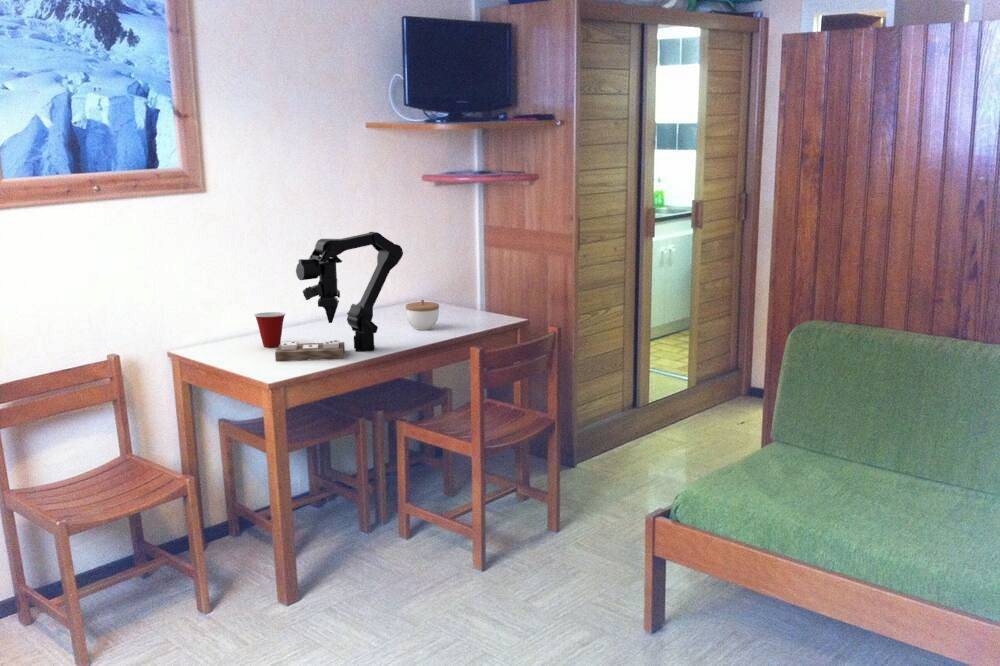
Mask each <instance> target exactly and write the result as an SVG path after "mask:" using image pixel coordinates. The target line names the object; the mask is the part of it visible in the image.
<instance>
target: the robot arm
mask: <svg viewBox="0 0 1000 666" xmlns="http://www.w3.org/2000/svg"><path fill="white" fill-rule="evenodd" d="M367 246H372V247H373V249H375V250H376V251H377V252H378V253H377V255H376V259H377V260H376V263H377V265H376V267H375V269H374V271H373V273H372V275H371V278H370V279H369V282H368V283H367V286H366V287H365V290H364V292H363V295H362V297H361V299H360V300H359V302H358V303H357V304H354V303H351V305H350V308H349V310H348V312H346V315H347V316H346V321H347V323H348V325H349V326H350V328H351V329H352V331H353V332H354V335H353V348H354V349H355V351H354V352H368V351H370V352H373V351H375V350H376V349H375V348H376V347H375V335H374V334H376V333H377V332H378V329H379V328H378V326H377V325H376V324H375V323H374V322H373V321H372V320H373V318H374V306H375V303H376V301H377V299H378V297H379V295H380V294H381V291H382V289H383V287H384V284H385V282H386V280H387V279H388V278H387V277H389V276H388V275H389V274H390V272H391V270H393V268H395V267H396V266H397V265H398V263H399V262H400V261H401V259H402V258H403V255H404V251H403V248H402V246H401V245H400V244H396V243H394V242H392V241H391V240H390V239H388V238H386V237H385V236H383V235H382V234H381V233H380V232H375V231H369V232H366V233H362V234H357V235H353V236H349V237H344V238H320V239H318V240H317V241H316V243H315V246H314V249H313V251H312V252H311V255H310V256H309V258H306V259H303V258H299V259H298V263H297V265H296V269H295V273H296V278H297V279H298V280H299V281H308V280H316V279H318V278H319V280H318V282H317V284H315V285H311V286H308V287H305V288H304V289H303V290H302V294H303V296H304V298H305V300H306V301H309V300H310V299H312V298H314V297H319V298H318V300H317V307H319V308H323V309H324V311H325V314H326V318H327V322H328V324H332V323H333V320H334V318H335V315H336V312H337V309H338V306H339V302H340V300H339V298H340V297H341V291H340V290H339V289H338V275H337V274H338V273H337V264H339V263H340V264H341V263H342V262H343V260H342V259H340V257H339V255H341V254H342V253H344V252H345V251H349V250H354V249H358V248H363V247H367Z"/></svg>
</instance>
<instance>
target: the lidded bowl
mask: <svg viewBox="0 0 1000 666" xmlns="http://www.w3.org/2000/svg"><path fill="white" fill-rule="evenodd" d="M439 308H440V304H439V303H436V302H431V301H425V299H420V301H416V302H410V303H407V304H406V305H405V309H406V310H405V311H406V320H407V321H408V323H409V325H410V326H411V327H412V328H413V330H415V329H418V330H417V331H429V330H432V329H433V327H434V326H435V325H436V324H437V322H438V319H439V316H440V309H439ZM431 328H432V329H431ZM428 329H429V330H428Z"/></svg>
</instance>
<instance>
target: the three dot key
mask: <svg viewBox="0 0 1000 666" xmlns="http://www.w3.org/2000/svg"><path fill="white" fill-rule="evenodd" d="M339 342H340V340H338V339H337V340H324V341H323V342H322V343H323V349H328V348H339Z"/></svg>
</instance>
